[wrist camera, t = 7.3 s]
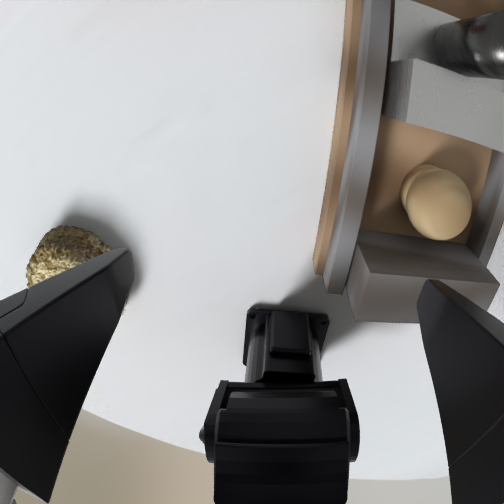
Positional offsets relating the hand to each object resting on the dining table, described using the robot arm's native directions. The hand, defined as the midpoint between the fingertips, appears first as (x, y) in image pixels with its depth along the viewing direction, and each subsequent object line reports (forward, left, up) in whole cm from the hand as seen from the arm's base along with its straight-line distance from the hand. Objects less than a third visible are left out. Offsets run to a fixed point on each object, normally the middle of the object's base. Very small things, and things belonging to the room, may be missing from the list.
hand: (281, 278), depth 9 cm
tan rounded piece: (0, -9, -10) cm, 13 cm away
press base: (+6, -9, -12) cm, 16 cm away
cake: (-10, +16, -12) cm, 23 cm away
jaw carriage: (+8, -9, -10) cm, 16 cm away
